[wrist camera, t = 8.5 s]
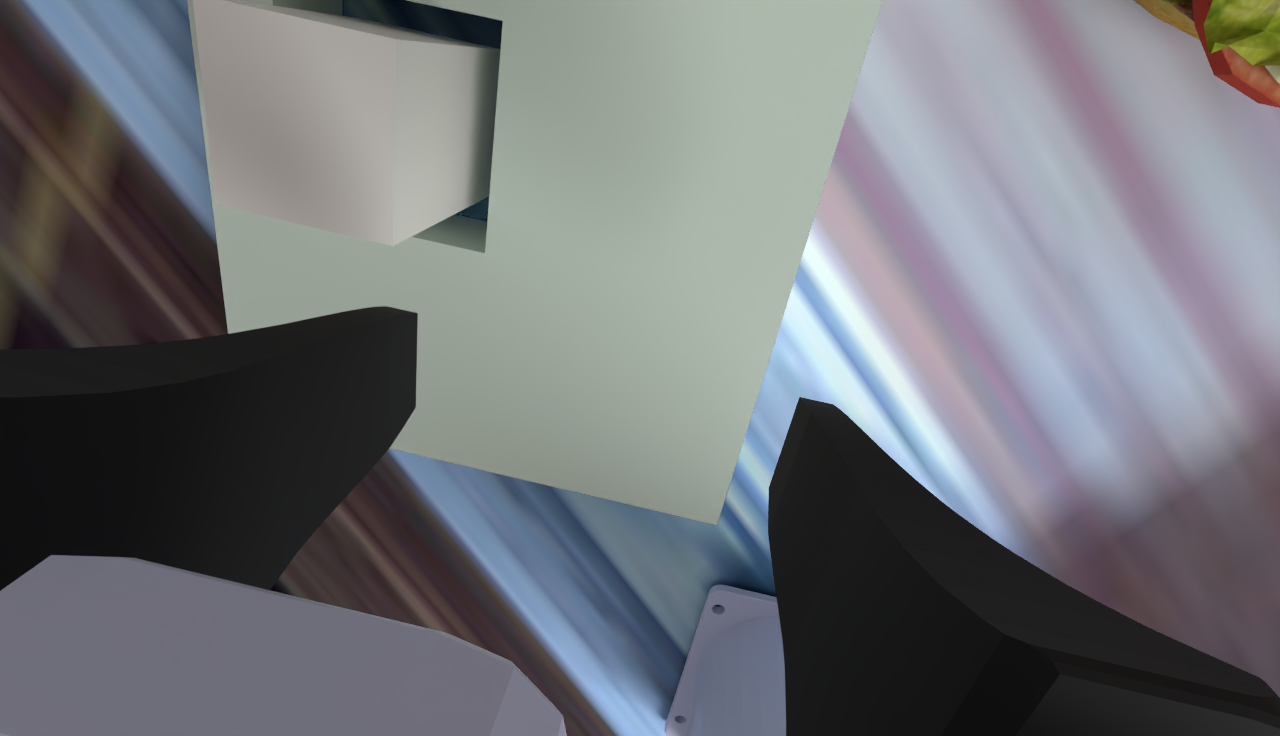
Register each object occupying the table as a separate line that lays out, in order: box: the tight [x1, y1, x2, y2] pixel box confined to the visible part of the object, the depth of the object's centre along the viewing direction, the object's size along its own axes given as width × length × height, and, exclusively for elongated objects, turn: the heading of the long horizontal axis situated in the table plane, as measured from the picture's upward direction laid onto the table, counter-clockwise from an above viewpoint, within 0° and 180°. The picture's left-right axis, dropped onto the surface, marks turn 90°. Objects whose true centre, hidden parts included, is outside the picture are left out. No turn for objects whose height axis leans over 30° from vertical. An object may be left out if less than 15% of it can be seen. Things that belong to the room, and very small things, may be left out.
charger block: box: [193, 0, 501, 246], centre depth 15 cm, size 4×4×6 cm
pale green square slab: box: [187, 0, 883, 525], centre depth 18 cm, size 16×16×3 cm
